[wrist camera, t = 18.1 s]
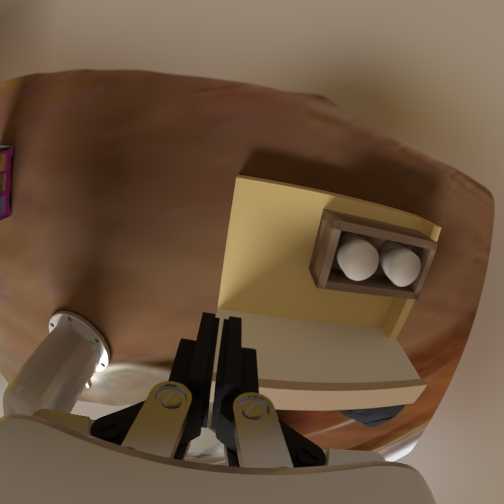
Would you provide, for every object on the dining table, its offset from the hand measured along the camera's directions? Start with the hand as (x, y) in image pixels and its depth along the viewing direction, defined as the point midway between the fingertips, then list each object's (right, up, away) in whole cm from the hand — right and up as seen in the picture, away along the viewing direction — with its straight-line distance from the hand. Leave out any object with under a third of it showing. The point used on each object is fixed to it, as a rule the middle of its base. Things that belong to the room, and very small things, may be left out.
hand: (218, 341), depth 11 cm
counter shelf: (+9, +2, +20) cm, 22 cm away
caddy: (+14, +4, +16) cm, 21 cm away
